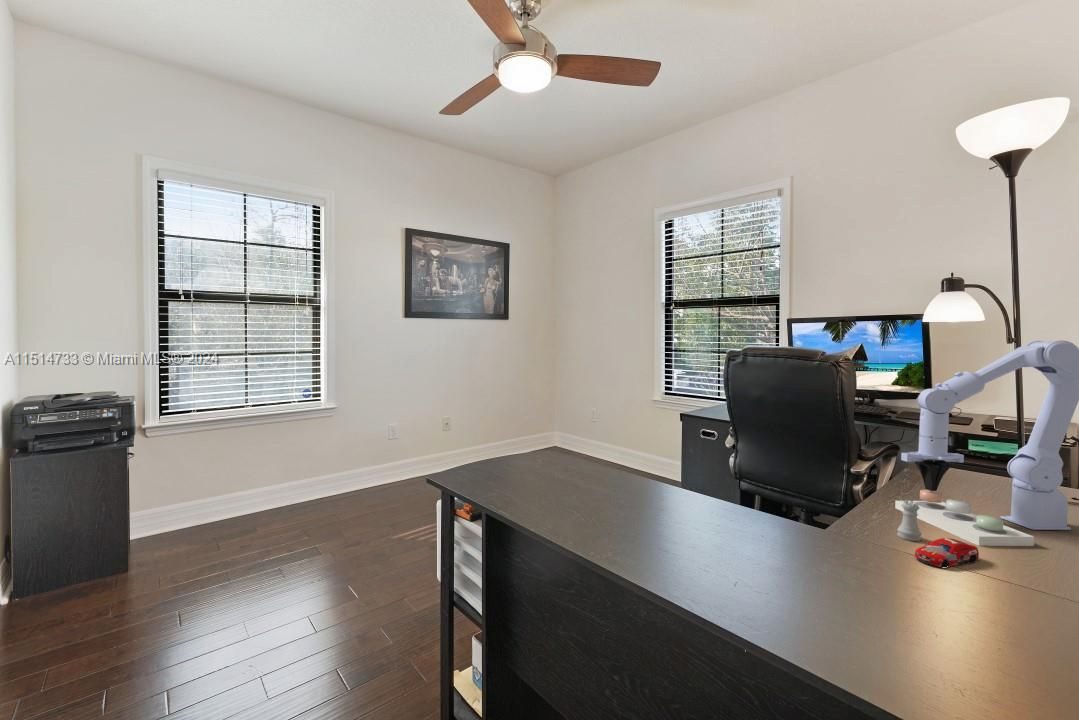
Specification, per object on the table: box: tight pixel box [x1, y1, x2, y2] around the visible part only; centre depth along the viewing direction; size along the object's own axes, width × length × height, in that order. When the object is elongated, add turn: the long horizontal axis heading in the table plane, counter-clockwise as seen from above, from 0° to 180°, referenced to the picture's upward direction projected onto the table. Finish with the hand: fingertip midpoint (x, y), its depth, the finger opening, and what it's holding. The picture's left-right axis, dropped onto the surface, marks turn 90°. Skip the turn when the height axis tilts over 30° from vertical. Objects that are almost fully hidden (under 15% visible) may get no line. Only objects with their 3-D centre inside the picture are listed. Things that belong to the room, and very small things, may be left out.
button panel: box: [894, 500, 1035, 547], centre depth 117 cm, size 12×24×2 cm, turn 1°
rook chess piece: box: [896, 500, 923, 543], centre depth 109 cm, size 4×4×8 cm
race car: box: [914, 537, 980, 568], centre depth 98 cm, size 13×5×4 cm, turn 107°
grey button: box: [945, 498, 972, 514], centre depth 117 cm, size 4×4×2 cm
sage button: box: [976, 514, 1004, 531], centre depth 109 cm, size 4×4×2 cm
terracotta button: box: [919, 489, 943, 503], centre depth 125 cm, size 4×4×2 cm
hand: (930, 489), depth 125 cm, fingers closed
